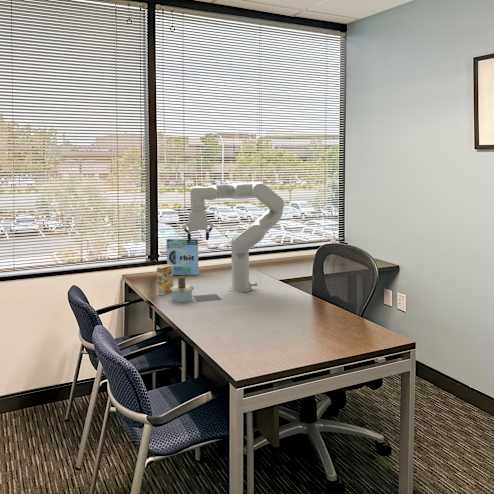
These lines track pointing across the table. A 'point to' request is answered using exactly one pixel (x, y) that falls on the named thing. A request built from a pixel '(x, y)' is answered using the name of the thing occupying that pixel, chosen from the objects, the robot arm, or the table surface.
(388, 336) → the table surface
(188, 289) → the brass cover
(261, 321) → the table surface
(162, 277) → the candy box
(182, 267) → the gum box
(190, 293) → the ceramic bowl
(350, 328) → the table surface
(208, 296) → the rubber mat
